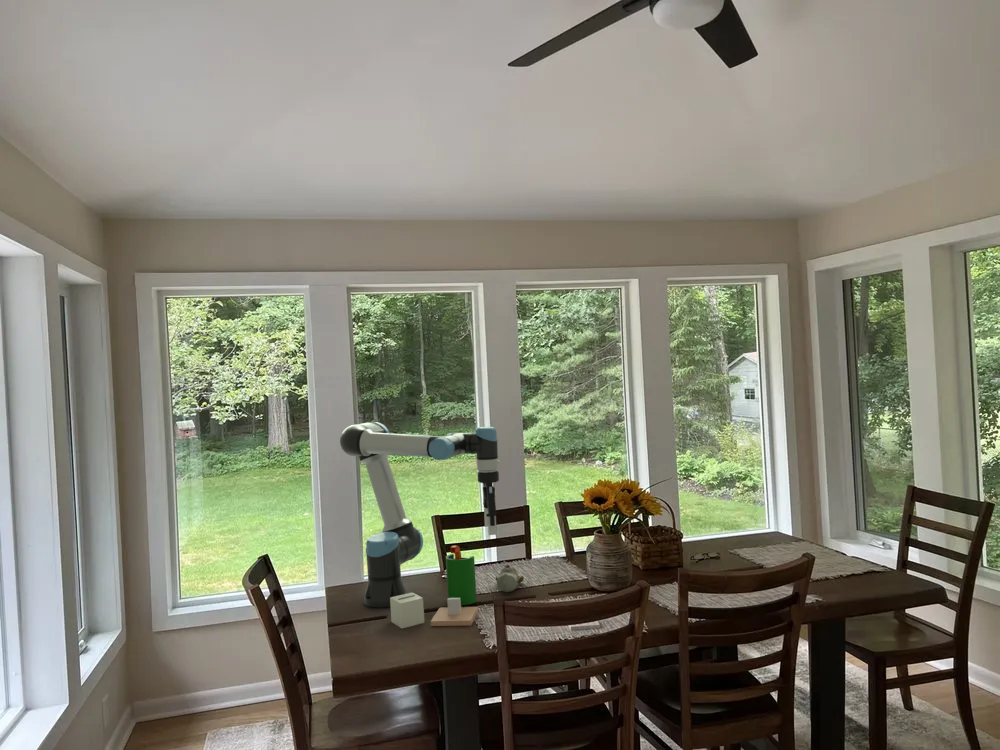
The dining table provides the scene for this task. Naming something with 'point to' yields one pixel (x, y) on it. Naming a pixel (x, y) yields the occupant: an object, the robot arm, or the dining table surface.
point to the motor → (461, 577)
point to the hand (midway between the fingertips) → (490, 530)
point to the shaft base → (454, 614)
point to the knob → (407, 610)
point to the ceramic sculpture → (508, 579)
